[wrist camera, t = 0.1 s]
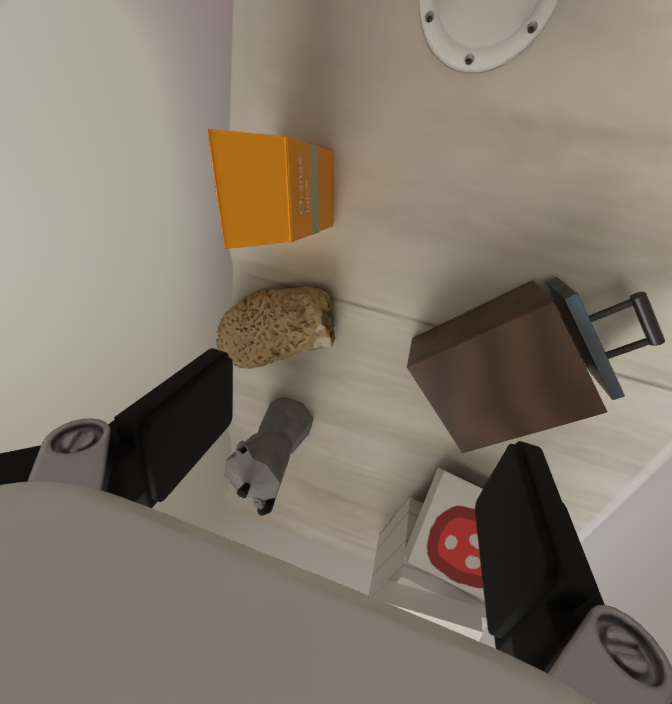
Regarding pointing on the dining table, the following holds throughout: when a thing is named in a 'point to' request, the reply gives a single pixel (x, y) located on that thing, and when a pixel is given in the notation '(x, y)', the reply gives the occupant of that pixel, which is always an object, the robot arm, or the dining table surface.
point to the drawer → (588, 338)
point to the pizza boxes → (434, 558)
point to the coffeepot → (268, 453)
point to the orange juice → (270, 187)
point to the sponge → (276, 325)
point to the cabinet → (504, 370)
